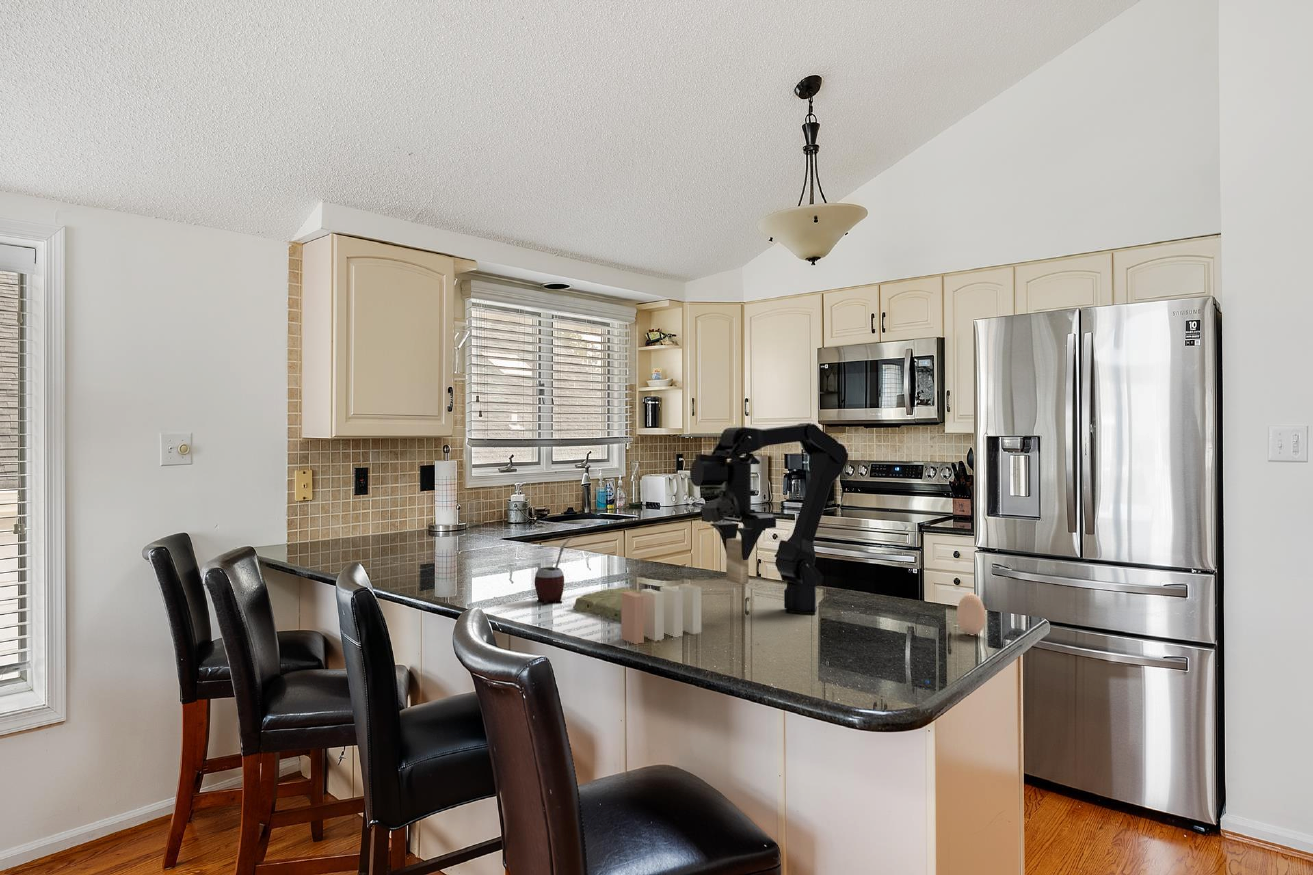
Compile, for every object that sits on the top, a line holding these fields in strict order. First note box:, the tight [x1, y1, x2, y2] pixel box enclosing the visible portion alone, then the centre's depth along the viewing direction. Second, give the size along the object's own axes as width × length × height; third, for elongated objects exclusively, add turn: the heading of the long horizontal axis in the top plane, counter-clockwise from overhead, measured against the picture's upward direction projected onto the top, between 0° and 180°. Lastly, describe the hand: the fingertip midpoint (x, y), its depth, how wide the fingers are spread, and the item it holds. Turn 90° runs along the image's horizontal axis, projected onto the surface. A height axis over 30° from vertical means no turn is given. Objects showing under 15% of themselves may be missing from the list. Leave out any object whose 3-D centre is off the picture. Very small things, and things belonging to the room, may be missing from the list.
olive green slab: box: [572, 586, 641, 621], centre depth 164 cm, size 19×20×4 cm
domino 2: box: [640, 588, 665, 642], centre depth 141 cm, size 2×5×9 cm, turn 33°
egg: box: [956, 592, 987, 635], centre depth 142 cm, size 5×5×8 cm
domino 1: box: [620, 591, 645, 645], centre depth 138 cm, size 2×5×9 cm, turn 33°
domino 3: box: [659, 585, 684, 638], centre depth 143 cm, size 2×5×9 cm, turn 33°
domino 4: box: [678, 583, 702, 635], centre depth 146 cm, size 2×5×9 cm, turn 33°
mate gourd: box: [534, 537, 572, 606], centre depth 172 cm, size 8×8×15 cm
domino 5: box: [725, 538, 749, 585], centre depth 155 cm, size 2×5×9 cm, turn 33°
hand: (737, 558), depth 155 cm, fingers closed on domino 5, 5 cm apart
